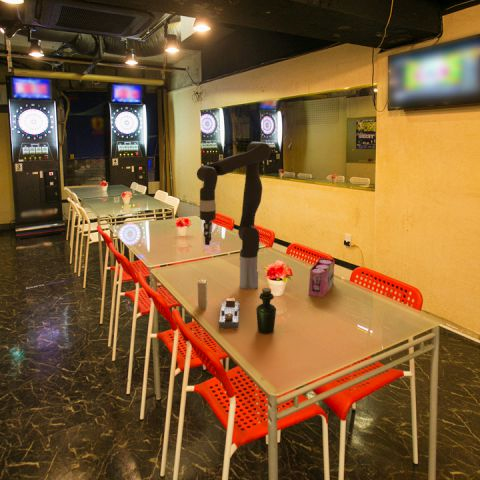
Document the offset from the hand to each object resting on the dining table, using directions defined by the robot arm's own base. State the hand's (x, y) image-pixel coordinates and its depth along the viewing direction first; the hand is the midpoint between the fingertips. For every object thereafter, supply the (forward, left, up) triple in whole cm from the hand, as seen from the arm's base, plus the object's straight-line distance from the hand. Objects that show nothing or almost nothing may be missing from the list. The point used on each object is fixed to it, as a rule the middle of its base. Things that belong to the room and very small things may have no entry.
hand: (208, 242), depth 200 cm
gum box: (-59, -3, -28) cm, 66 cm away
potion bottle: (-20, +40, -28) cm, 53 cm away
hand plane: (-7, +25, -28) cm, 38 cm away
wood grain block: (+4, +12, -28) cm, 31 cm away
